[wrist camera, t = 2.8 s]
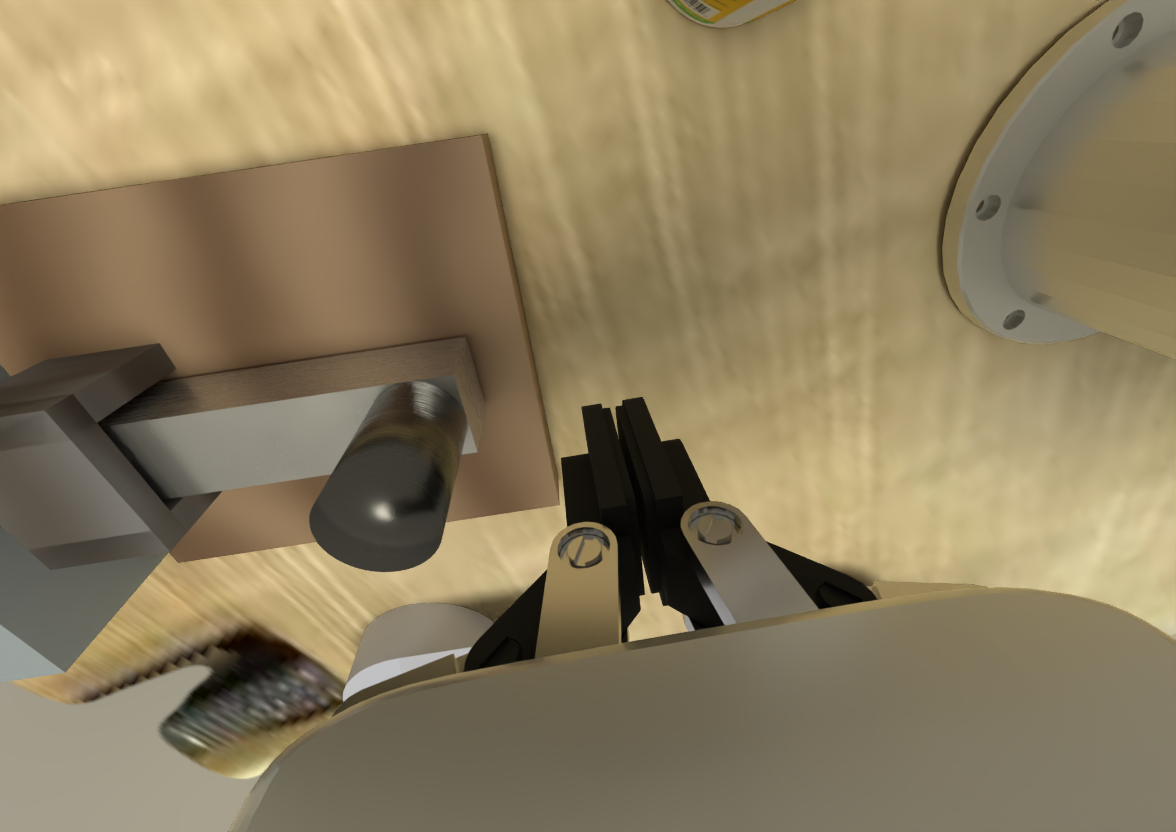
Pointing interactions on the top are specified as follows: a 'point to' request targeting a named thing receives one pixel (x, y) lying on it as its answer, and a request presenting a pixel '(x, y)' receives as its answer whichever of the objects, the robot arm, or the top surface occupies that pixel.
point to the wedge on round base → (413, 641)
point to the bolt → (322, 441)
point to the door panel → (249, 334)
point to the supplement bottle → (726, 10)
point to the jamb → (57, 605)
